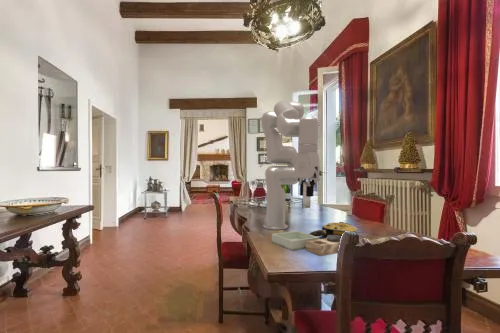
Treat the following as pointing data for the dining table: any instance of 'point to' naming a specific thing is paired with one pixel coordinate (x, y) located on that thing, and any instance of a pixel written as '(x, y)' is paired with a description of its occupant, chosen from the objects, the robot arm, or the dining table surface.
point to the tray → (292, 239)
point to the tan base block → (324, 245)
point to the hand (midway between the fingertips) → (306, 195)
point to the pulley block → (334, 229)
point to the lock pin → (305, 199)
